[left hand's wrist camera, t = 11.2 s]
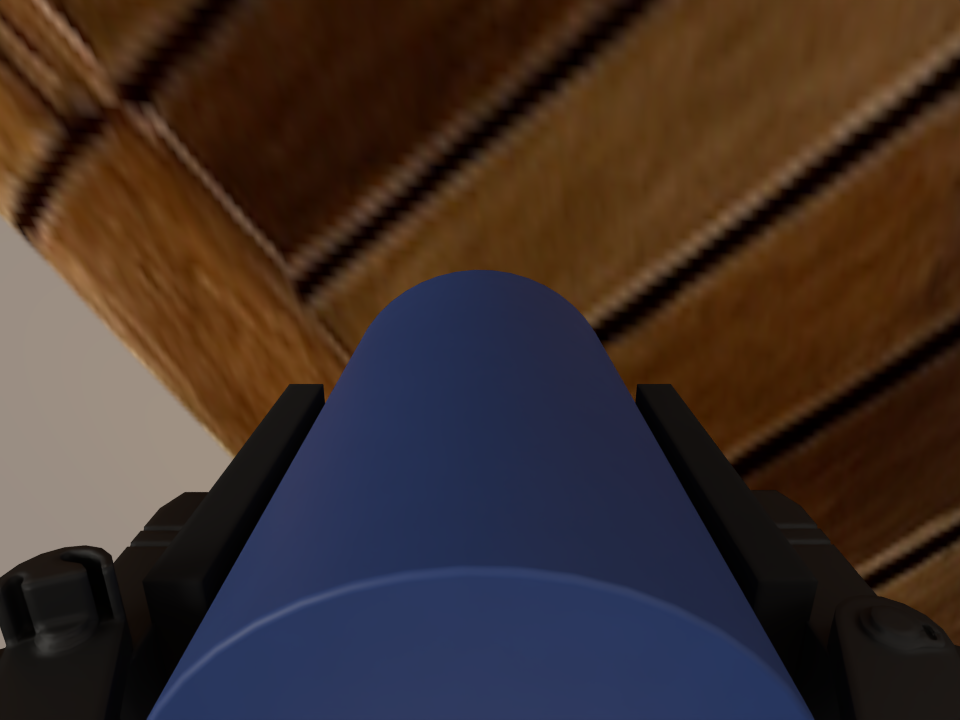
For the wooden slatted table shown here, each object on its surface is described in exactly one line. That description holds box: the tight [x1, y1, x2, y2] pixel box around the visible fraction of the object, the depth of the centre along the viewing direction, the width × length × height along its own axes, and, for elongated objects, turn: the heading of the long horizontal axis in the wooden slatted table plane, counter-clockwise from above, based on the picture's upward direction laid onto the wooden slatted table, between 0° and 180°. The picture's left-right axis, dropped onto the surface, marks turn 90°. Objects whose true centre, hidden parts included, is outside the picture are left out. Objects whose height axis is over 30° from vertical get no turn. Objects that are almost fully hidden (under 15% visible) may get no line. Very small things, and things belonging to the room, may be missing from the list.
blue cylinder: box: [146, 270, 814, 720], centre depth 12 cm, size 7×7×11 cm
